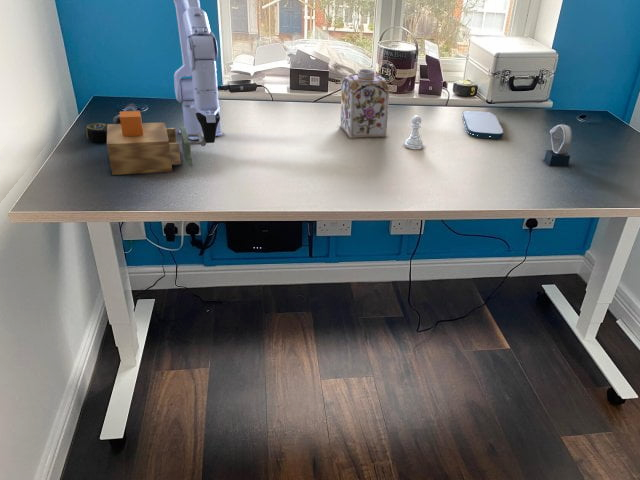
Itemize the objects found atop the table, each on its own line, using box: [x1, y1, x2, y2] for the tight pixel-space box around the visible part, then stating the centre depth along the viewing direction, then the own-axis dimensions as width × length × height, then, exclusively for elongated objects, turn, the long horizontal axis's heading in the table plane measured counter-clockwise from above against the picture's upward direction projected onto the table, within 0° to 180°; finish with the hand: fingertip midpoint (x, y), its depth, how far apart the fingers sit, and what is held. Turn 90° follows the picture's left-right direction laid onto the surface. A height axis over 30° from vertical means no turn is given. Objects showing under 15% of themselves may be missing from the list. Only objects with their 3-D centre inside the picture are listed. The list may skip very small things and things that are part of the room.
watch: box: [543, 123, 572, 167], centre depth 170 cm, size 6×8×11 cm
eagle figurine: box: [112, 103, 138, 124], centre depth 168 cm, size 8×7×9 cm
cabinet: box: [106, 121, 173, 176], centre depth 148 cm, size 14×15×8 cm
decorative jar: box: [340, 68, 390, 139], centre depth 179 cm, size 12×12×18 cm
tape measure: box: [84, 122, 108, 143], centre depth 160 cm, size 7×7×4 cm
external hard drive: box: [461, 110, 505, 140], centre depth 196 cm, size 24×12×2 cm, turn 0°
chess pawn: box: [404, 115, 424, 150], centre depth 173 cm, size 5×5×9 cm
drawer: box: [166, 125, 207, 167], centre depth 151 cm, size 17×13×6 cm
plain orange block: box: [119, 110, 143, 136], centre depth 145 cm, size 5×5×5 cm
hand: (209, 142), depth 154 cm, fingers closed, pressing on drawer
